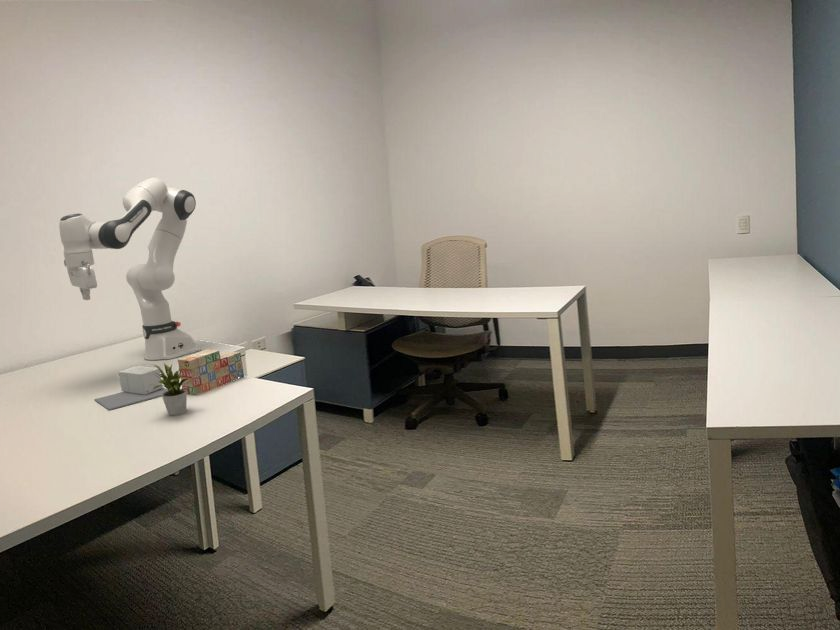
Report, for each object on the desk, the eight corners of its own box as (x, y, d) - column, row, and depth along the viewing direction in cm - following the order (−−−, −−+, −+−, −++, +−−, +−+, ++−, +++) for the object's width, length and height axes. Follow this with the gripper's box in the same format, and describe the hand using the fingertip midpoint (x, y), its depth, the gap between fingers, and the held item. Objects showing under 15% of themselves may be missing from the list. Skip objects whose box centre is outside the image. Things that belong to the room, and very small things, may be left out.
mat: (155, 384, 218) (155, 383, 218) (172, 393, 206) (172, 392, 206) (94, 400, 205) (94, 399, 205) (109, 410, 193) (108, 409, 193)
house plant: (137, 419, 183) (127, 366, 180) (170, 403, 196) (162, 353, 192) (175, 422, 178) (166, 368, 175) (207, 406, 190) (199, 355, 187)
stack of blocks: (232, 375, 223) (227, 342, 221) (244, 377, 220) (239, 343, 217) (182, 394, 205) (177, 358, 203) (195, 396, 202) (189, 360, 200)
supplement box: (140, 385, 217) (163, 388, 211) (120, 391, 211) (144, 395, 205) (136, 365, 216) (160, 368, 210) (117, 370, 210) (141, 374, 203)
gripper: (97, 260, 211) (104, 300, 214) (81, 259, 226) (88, 296, 229) (77, 263, 207) (85, 303, 209) (62, 261, 222) (69, 299, 224)
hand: (86, 299), depth 219 cm, fingers closed
